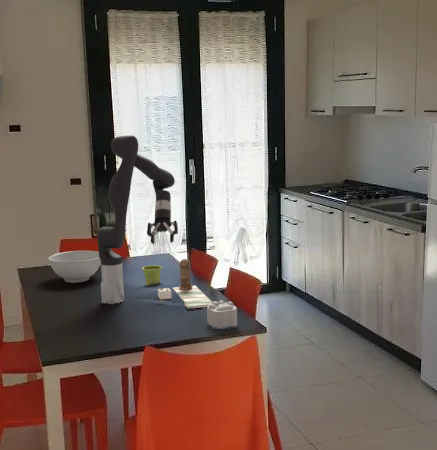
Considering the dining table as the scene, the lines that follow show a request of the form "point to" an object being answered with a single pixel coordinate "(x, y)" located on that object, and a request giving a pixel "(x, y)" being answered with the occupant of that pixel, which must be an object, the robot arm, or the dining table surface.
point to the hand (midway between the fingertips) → (162, 242)
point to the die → (164, 294)
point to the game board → (193, 297)
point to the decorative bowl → (75, 265)
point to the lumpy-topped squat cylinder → (221, 314)
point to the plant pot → (152, 274)
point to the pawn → (185, 275)
